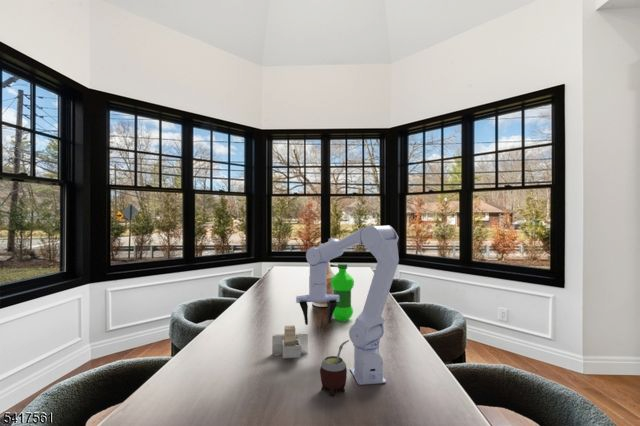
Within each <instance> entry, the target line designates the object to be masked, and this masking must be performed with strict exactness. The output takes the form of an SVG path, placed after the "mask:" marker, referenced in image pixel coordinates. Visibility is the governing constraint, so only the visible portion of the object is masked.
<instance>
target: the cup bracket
mask: <svg viewBox="0 0 640 426" xmlns="http://www.w3.org/2000/svg"><path fill="white" fill-rule="evenodd" d="M284 334H285V333H276V334H274V333H273V334H272V339H271V343H272V345H271V346H272V349H271V350H272V351H271V353H272V355H271V356H282V359H291V358H292V359H293V358H301V357H302V354H308V353H309V333H308V332H295V345H291V346H285V344H284Z"/></svg>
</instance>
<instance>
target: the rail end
mask: <svg viewBox="0 0 640 426" xmlns="http://www.w3.org/2000/svg"><path fill="white" fill-rule="evenodd" d="M295 333H296V325H294V324H292V325H284V333H283V334H284V344H285V346H291V345H295Z"/></svg>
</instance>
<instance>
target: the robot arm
mask: <svg viewBox="0 0 640 426" xmlns="http://www.w3.org/2000/svg"><path fill="white" fill-rule="evenodd" d="M399 238H400V237H399V236H398V233H397V231H396V230H395V228H393V227H392V226H391V225H389V224H387V225H386V224H385V225H367V226H364V227H361V228H358V229H357V230H356V231H354V232H352V233H350V234H348V235H346V236H344V237H343V238H341V239H339V238H335V237H330V238H328V239H327V240H328V241H327V242H324V243H320V244H318V246H317V247H314V246H313V247H312V246H311V247H309V248H308V249H307V251H306V252H305V258H306V261H307V263H308V264H309V294H304V295H296V296H295V302H296V304H299V306H300V308H301V311H302V314H303V316H304V324H305V325H306V326H307V325H308V323H309V320H308V319H309V318H308V317H309V316H308V313H309V312H308V311H309V310H308V309H309V305H308V303H319V302H321V303H322V302H326V304H327V313H326V314H327V315H326V316H327V317H326V318H327V319H326V321H327V324H329V325H330V324H331V321H332V318H333V312H334V310H335V308H336V306H337V303H336V302H339V295H334V294H329V293H327V269H328V267H329V263H330V261H331V260H333V259H337V258H339V257H341V256H342V255H343V254H344V251H345V250H347V249H349V248H351V247H354V246H356V245H363V246H364V247H365V248H366V249H367V250H368V251H369V252H370V254H372V256H374V259H376V262H377V263H376V266H375V270H374V272H373V275H372V280H371V284H370V286H369V289H368V292H367V296H366V299H365V302H364V305H363V309H362V311H361V312H360V314H358V316H357V317H356V319H355V320H354V323H353V324H352V325H351V326H350V328H349V331H348V335H349V341H351V343H352V345H353V349H354V350H353V351H354V352H353V357H354V358H353V362H354V363H353V364H354V365H353V366H352V367H350V368H349V369H350V372H351V373H352V375H353V377H354V379H355V381H356V382H357V384H358V385H359V386H362V385H363V386H365V385H375V384H386V383H387V380H386V379H385V377H384V376H383V375H384V374H383V373H384V370H383V369H384V368H383V367H384V366H383V365H384V361H383V358H382V357H383V356H381V354H380V343H381V338H383V336H384V333H385V329H384V324H385V319H384V317H383V316H382V315H383V312H384V308H385V305H386V304H387V299H388V297H389V293H390V290H391V286H392V284H393V281H394V278H395V274H396V271H397V269H398V265H399V262H400V258H399V248H398V242H399Z"/></svg>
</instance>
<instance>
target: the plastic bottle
mask: <svg viewBox="0 0 640 426" xmlns="http://www.w3.org/2000/svg"><path fill="white" fill-rule="evenodd" d="M337 269H338V272H337V273H336V274H334V276H333V277H332V278H331V280H330V287H331V289H333V295H339V302H336V303H337V306H336V308H335V310H334V312H333V315H332V318H333V317H334V318H335V320H336V321H338V322H347V321H348V320H349V319H350V318H352V316H353V313H354V309H353V306H352V289H353V288H354V285H355V281H354V278H353V276H351V275H350V274H349V273H348V272H347V269H348V263H338V264H337Z"/></svg>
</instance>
